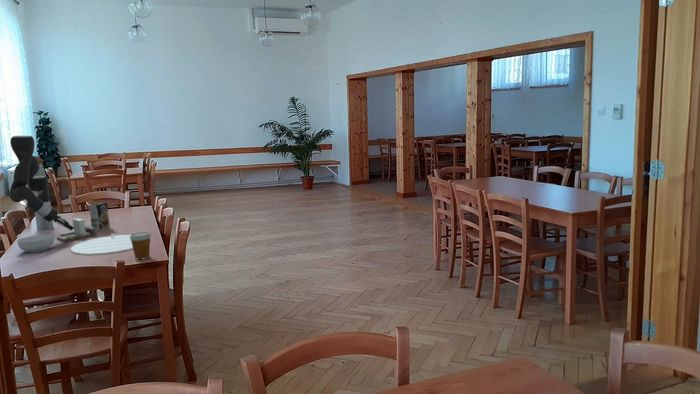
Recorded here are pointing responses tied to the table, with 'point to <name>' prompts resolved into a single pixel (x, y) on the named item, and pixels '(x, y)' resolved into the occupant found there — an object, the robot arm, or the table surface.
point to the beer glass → (141, 244)
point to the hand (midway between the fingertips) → (72, 228)
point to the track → (72, 236)
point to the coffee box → (99, 216)
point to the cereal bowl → (36, 243)
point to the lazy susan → (103, 245)
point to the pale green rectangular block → (79, 226)
